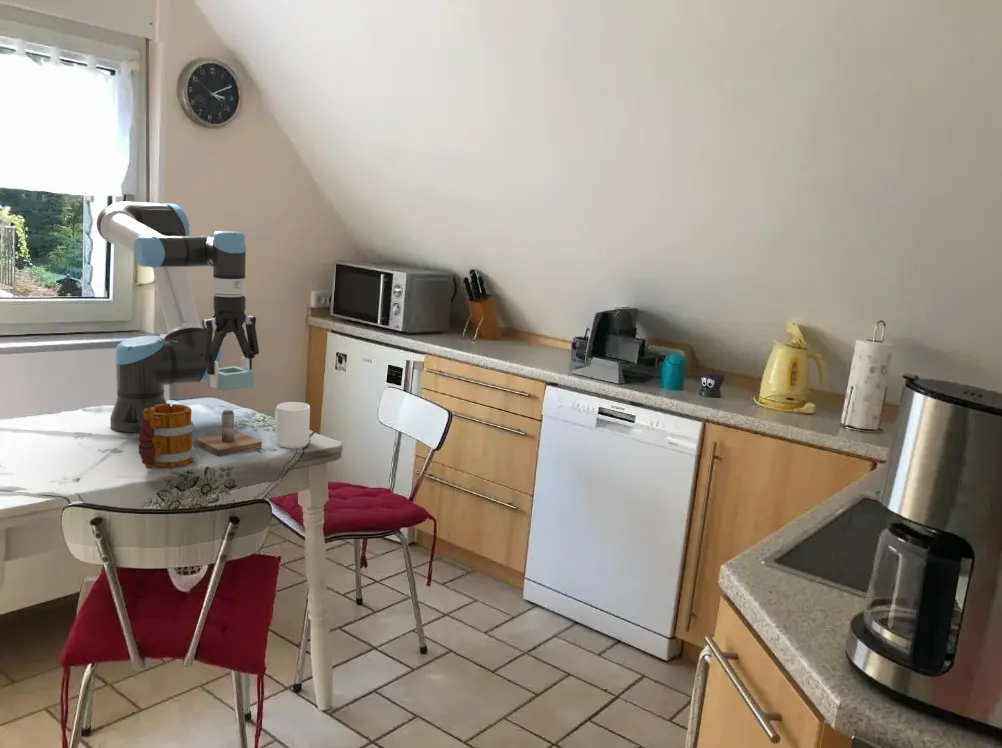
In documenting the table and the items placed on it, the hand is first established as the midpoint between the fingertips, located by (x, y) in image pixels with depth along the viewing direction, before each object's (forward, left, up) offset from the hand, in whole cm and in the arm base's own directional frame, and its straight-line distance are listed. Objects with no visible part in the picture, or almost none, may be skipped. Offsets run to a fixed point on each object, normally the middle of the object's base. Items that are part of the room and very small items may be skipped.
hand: (229, 384), depth 215 cm
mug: (+5, -20, -16) cm, 26 cm away
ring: (0, 0, 0) cm, 0 cm away
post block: (+1, -1, -16) cm, 16 cm away
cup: (+7, +13, -16) cm, 22 cm away
